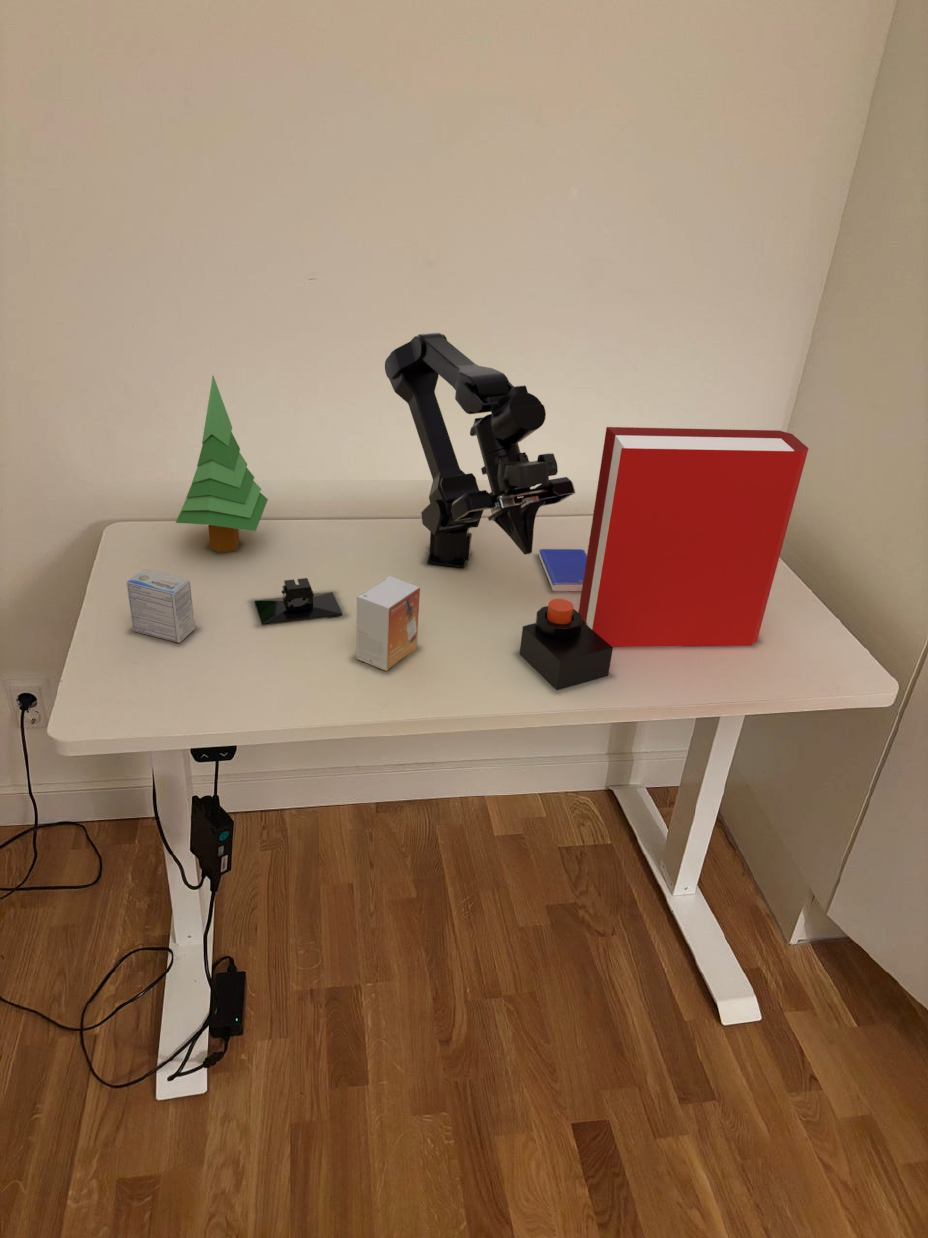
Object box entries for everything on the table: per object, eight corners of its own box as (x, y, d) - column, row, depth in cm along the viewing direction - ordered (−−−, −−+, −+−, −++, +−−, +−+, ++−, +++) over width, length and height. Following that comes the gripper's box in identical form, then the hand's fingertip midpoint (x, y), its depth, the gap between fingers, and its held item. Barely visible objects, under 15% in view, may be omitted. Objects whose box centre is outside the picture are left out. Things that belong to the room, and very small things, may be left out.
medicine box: (196, 630, 143) (191, 578, 139) (179, 644, 139) (173, 592, 135) (150, 618, 145) (144, 567, 140) (132, 632, 141) (125, 580, 137)
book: (589, 647, 146) (621, 448, 130) (577, 619, 153) (606, 426, 136) (759, 645, 150) (812, 451, 133) (740, 618, 157) (788, 430, 140)
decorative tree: (223, 520, 175) (211, 355, 159) (285, 547, 167) (280, 377, 152) (162, 545, 165) (144, 372, 149) (226, 575, 158) (214, 396, 142)
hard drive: (601, 583, 161) (584, 548, 171) (553, 583, 159) (539, 548, 170) (600, 591, 161) (583, 556, 172) (552, 591, 160) (538, 556, 171)
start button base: (516, 652, 144) (521, 611, 140) (566, 639, 148) (572, 599, 144) (556, 690, 136) (562, 649, 132) (608, 676, 140) (615, 635, 136)
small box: (386, 672, 137) (388, 609, 131) (354, 659, 139) (355, 596, 134) (418, 648, 143) (421, 586, 137) (387, 635, 145) (389, 574, 140)
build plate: (332, 594, 155) (332, 568, 152) (343, 617, 149) (343, 591, 147) (254, 602, 151) (253, 576, 148) (261, 626, 145) (261, 599, 143)
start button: (542, 615, 140) (543, 601, 139) (562, 610, 142) (564, 596, 141) (555, 627, 138) (557, 613, 137) (576, 622, 139) (578, 608, 138)
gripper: (469, 443, 134) (498, 551, 132) (580, 428, 142) (608, 529, 141) (438, 468, 144) (464, 569, 142) (543, 453, 152) (569, 548, 151)
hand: (528, 553), depth 144 cm, fingers closed
